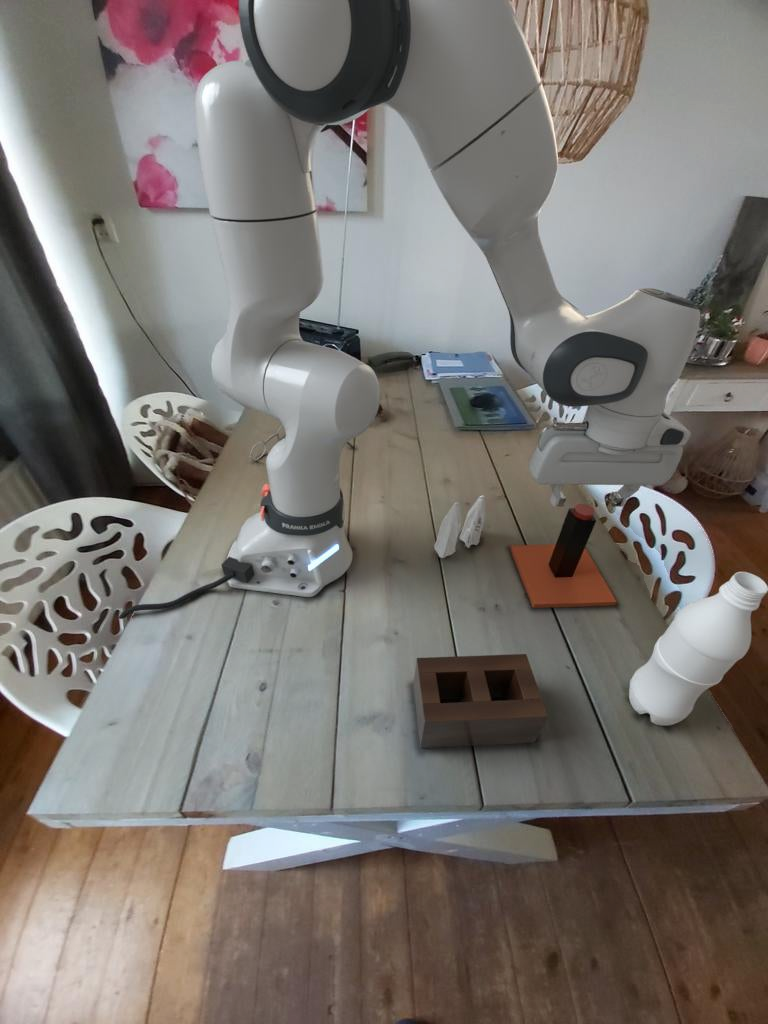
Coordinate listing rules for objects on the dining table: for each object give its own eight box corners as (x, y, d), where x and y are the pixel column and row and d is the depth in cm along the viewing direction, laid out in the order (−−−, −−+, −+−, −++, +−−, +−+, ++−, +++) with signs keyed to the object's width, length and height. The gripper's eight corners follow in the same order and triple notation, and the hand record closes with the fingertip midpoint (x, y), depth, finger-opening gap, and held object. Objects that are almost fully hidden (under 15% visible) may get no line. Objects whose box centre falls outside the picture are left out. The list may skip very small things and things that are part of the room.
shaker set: (440, 566, 80) (447, 519, 73) (425, 553, 82) (430, 506, 75) (486, 540, 85) (497, 495, 78) (471, 528, 88) (480, 483, 81)
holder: (534, 743, 56) (548, 716, 52) (420, 748, 55) (424, 722, 51) (515, 681, 62) (526, 653, 58) (413, 685, 62) (416, 657, 57)
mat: (533, 608, 73) (534, 604, 72) (509, 549, 84) (510, 545, 83) (615, 605, 73) (617, 601, 73) (581, 547, 84) (583, 543, 84)
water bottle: (656, 741, 56) (768, 621, 41) (611, 694, 61) (694, 570, 45) (692, 716, 59) (809, 594, 43) (645, 672, 64) (735, 549, 48)
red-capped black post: (554, 577, 77) (578, 516, 68) (548, 564, 79) (570, 503, 70) (572, 577, 77) (598, 515, 68) (565, 563, 79) (590, 502, 71)
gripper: (552, 432, 56) (526, 516, 65) (703, 434, 58) (659, 517, 66) (536, 411, 61) (514, 492, 70) (676, 413, 63) (637, 492, 71)
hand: (585, 504), depth 68 cm, fingers open, 8 cm apart
